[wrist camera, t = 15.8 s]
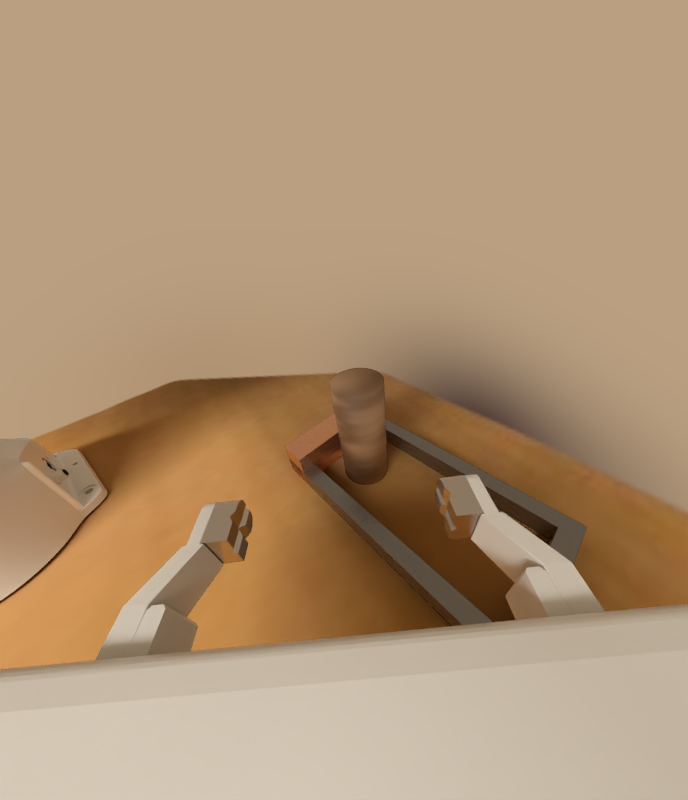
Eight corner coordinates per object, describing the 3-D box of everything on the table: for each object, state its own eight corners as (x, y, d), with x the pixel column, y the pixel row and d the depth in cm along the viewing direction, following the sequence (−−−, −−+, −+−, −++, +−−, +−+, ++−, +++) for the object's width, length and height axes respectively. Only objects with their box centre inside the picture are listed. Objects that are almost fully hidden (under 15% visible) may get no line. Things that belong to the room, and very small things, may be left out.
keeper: (336, 467, 31) (318, 384, 24) (365, 444, 33) (356, 363, 26) (366, 492, 28) (356, 405, 21) (396, 465, 30) (395, 378, 23)
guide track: (293, 468, 32) (284, 446, 29) (363, 417, 38) (361, 395, 35) (517, 691, 16) (538, 681, 13) (576, 538, 22) (598, 513, 19)
